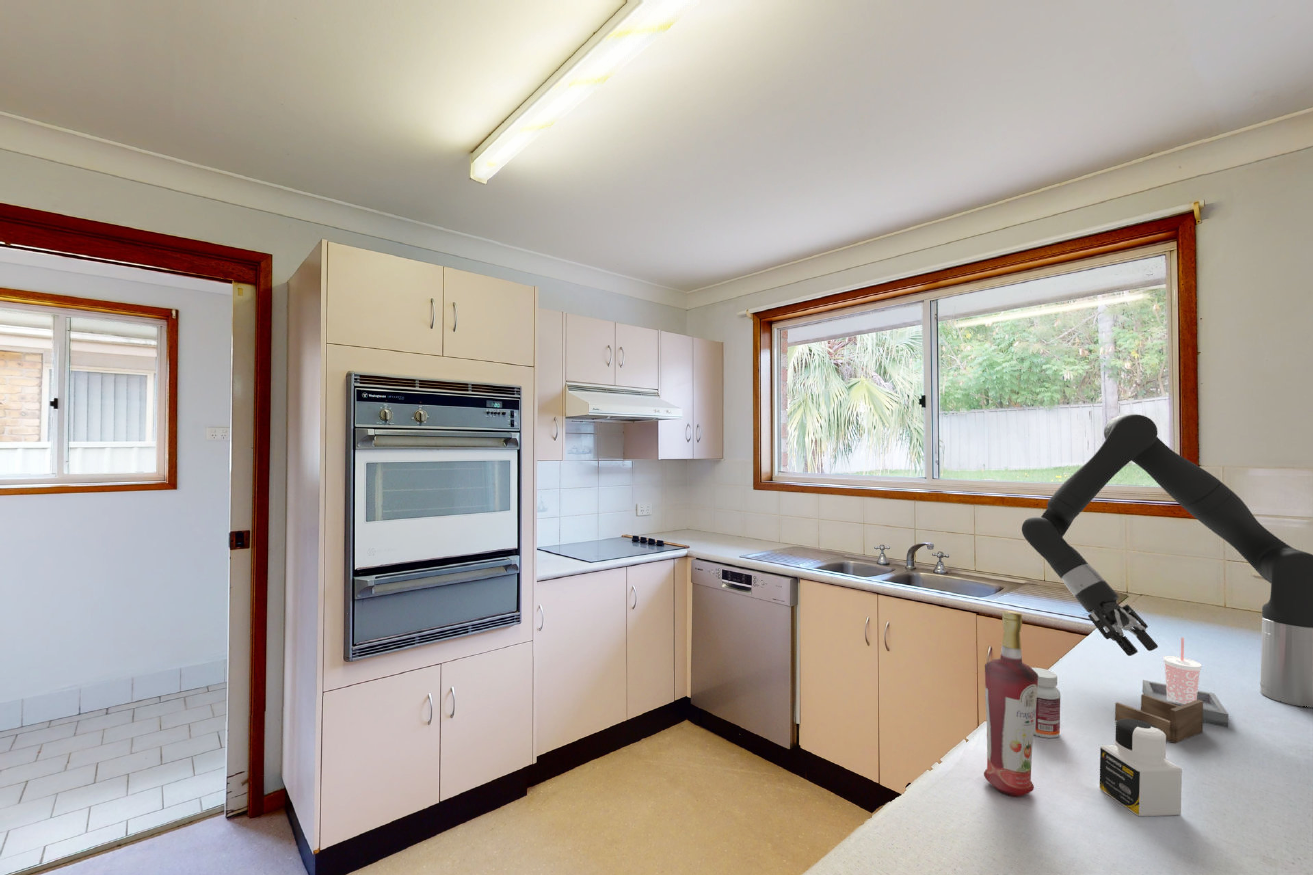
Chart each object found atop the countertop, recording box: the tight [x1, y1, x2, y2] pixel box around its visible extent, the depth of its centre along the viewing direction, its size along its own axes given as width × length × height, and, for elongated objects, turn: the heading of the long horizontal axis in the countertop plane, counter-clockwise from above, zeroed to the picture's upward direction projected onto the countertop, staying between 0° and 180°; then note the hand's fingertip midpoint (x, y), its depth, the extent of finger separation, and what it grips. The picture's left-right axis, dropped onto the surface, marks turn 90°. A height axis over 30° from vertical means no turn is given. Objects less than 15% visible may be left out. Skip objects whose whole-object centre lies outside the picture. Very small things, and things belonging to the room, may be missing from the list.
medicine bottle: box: [1099, 719, 1183, 817], centre depth 92 cm, size 7×7×12 cm
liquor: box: [983, 610, 1038, 798], centre depth 94 cm, size 7×7×28 cm
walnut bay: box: [1114, 693, 1204, 744], centre depth 117 cm, size 10×11×6 cm
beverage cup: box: [1162, 636, 1202, 704], centre depth 126 cm, size 6×6×14 cm
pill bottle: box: [1031, 667, 1061, 739], centre depth 114 cm, size 6×6×11 cm
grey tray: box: [1141, 679, 1229, 728], centre depth 126 cm, size 12×12×2 cm
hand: (1144, 651), depth 132 cm, fingers open, 8 cm apart
